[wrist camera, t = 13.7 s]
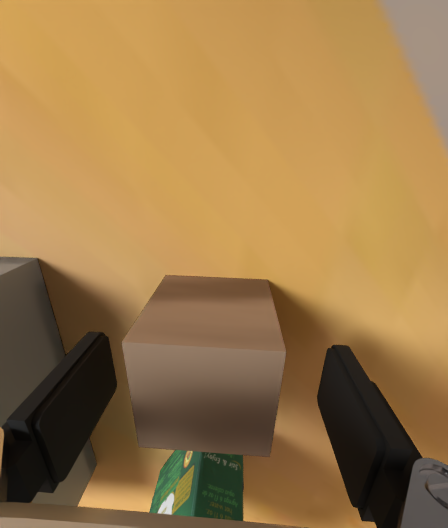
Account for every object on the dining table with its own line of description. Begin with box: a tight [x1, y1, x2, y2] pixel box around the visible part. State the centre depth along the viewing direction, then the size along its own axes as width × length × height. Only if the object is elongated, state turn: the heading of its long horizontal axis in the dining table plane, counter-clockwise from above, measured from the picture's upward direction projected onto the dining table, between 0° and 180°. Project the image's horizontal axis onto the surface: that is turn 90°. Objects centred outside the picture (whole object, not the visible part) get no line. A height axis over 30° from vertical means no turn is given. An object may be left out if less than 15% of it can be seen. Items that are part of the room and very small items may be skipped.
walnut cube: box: [122, 275, 286, 457], centre depth 11 cm, size 5×5×5 cm
